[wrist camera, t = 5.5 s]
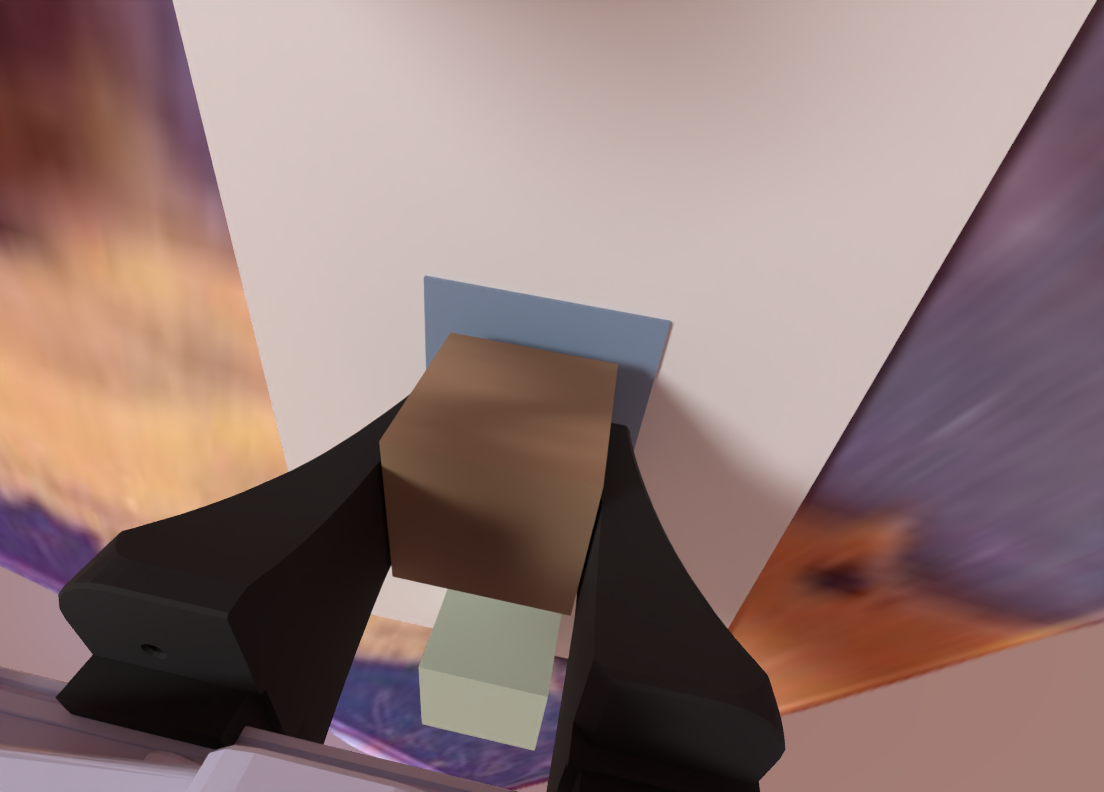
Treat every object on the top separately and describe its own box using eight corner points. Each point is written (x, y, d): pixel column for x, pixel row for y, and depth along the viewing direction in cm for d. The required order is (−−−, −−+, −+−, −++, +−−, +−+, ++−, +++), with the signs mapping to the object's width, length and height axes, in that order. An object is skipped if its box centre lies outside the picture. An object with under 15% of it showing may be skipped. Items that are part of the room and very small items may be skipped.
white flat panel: (1236, -306, 7) (1304, -344, 6) (692, 667, 22) (694, 689, 22) (106, -427, 8) (50, -471, 7) (329, 586, 23) (319, 605, 23)
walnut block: (617, 364, 12) (603, 487, 9) (590, 484, 15) (570, 615, 12) (450, 332, 13) (379, 441, 9) (449, 455, 15) (392, 576, 12)
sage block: (566, 582, 19) (547, 697, 16) (553, 640, 22) (534, 750, 18) (458, 558, 19) (418, 666, 16) (457, 619, 22) (422, 724, 19)
